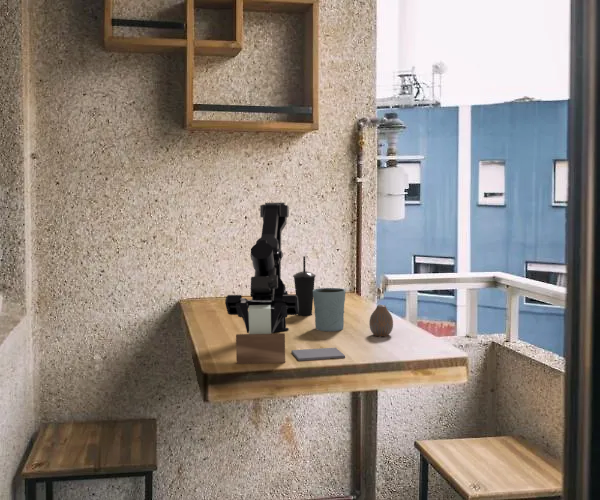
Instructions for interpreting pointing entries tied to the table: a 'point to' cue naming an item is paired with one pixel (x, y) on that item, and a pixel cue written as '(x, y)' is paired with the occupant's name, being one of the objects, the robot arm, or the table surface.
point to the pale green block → (259, 319)
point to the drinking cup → (304, 290)
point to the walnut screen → (260, 348)
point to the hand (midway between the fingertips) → (259, 332)
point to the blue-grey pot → (329, 308)
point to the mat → (317, 354)
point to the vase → (381, 321)
